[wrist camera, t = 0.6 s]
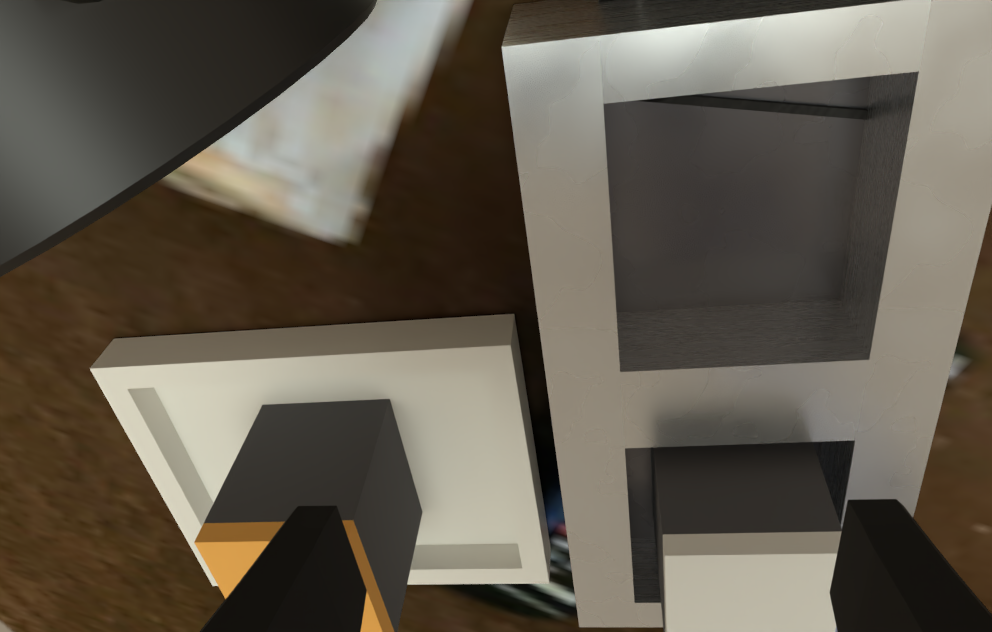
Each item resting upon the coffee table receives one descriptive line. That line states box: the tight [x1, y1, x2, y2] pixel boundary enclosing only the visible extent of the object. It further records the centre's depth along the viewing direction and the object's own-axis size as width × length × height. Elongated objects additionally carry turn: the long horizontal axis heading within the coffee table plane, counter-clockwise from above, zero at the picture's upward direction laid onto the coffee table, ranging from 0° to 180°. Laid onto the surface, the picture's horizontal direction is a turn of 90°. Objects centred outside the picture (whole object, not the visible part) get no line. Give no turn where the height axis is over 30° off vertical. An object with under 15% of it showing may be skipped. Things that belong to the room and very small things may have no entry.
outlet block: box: [502, 0, 992, 627], centre depth 20 cm, size 18×9×3 cm, turn 8°
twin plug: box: [651, 442, 842, 632], centre depth 21 cm, size 5×4×5 cm
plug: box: [194, 399, 422, 632], centre depth 23 cm, size 5×4×5 cm
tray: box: [90, 314, 551, 586], centre depth 24 cm, size 10×12×1 cm
